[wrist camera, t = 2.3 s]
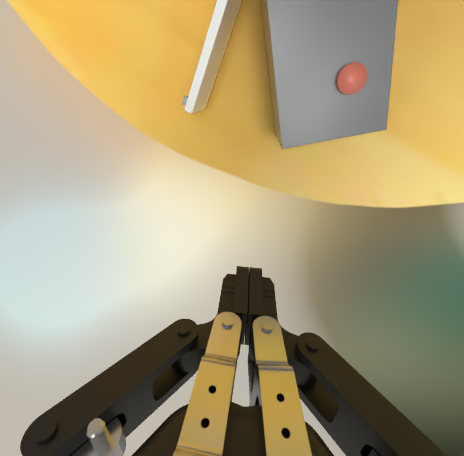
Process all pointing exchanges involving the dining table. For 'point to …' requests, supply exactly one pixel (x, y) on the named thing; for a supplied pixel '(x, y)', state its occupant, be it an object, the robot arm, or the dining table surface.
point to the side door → (212, 54)
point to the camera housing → (329, 67)
